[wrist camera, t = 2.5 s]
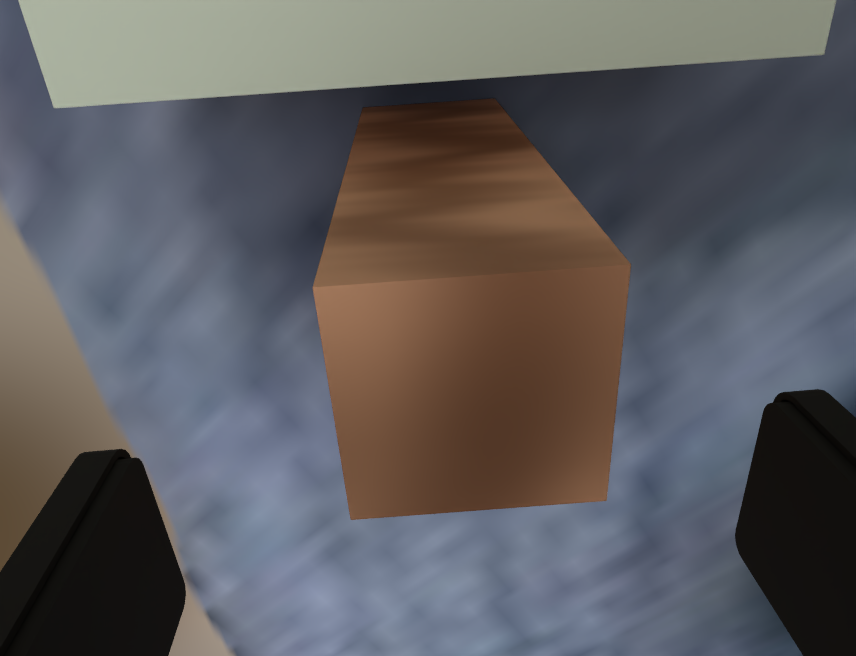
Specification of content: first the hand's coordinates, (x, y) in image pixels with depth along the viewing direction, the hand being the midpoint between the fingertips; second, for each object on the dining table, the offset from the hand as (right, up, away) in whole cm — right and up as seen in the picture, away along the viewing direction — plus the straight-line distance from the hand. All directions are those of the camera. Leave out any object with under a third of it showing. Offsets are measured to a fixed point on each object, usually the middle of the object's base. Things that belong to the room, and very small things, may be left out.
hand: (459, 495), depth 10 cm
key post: (0, +9, +15) cm, 18 cm away
